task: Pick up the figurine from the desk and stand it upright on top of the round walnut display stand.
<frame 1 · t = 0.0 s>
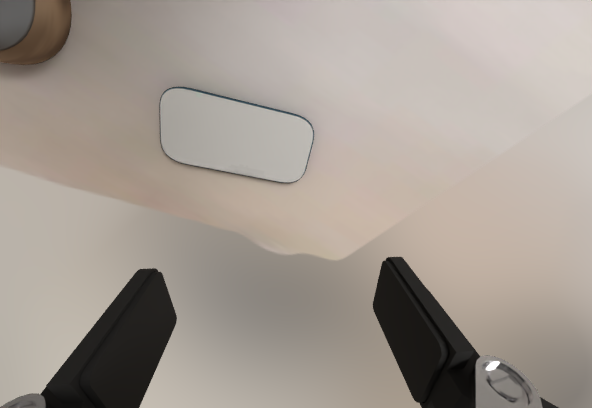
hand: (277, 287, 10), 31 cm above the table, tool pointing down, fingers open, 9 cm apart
external hard drive: (240, 138, 37), on the table
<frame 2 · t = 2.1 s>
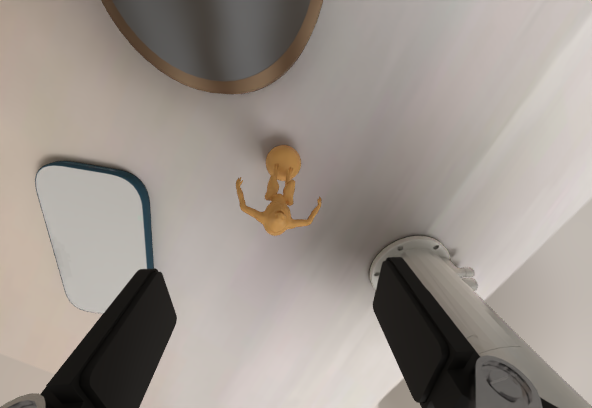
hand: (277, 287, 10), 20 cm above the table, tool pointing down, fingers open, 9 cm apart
figurine: (281, 166, 28), on the table
external hard drive: (112, 243, 31), on the table
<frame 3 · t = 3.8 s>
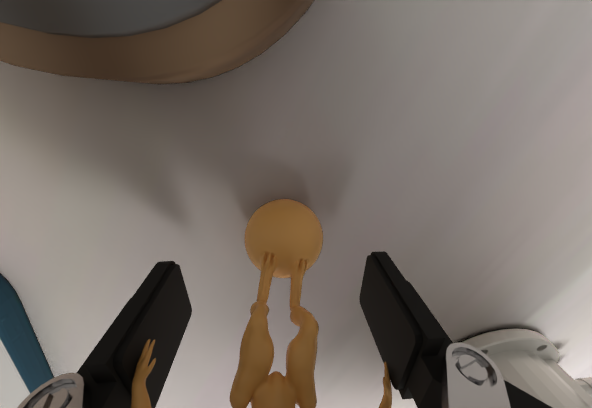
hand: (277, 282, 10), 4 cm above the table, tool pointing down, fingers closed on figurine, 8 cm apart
figurine: (278, 230, 14), on the table, touching gripper
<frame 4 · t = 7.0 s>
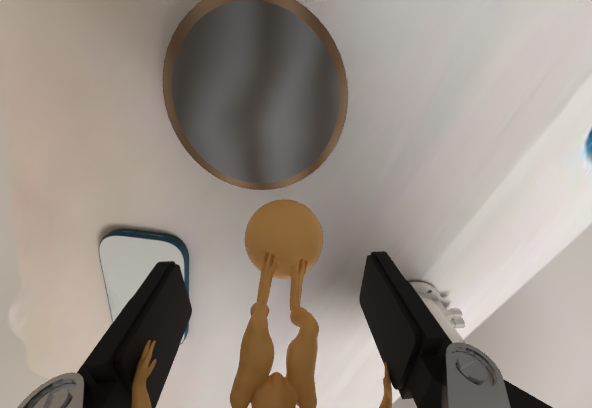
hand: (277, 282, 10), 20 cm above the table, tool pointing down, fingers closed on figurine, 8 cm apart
figurine: (278, 231, 14), point 16 cm above the table, touching gripper
walnut stand: (261, 105, 25), on the table
external hard drive: (154, 288, 37), on the table
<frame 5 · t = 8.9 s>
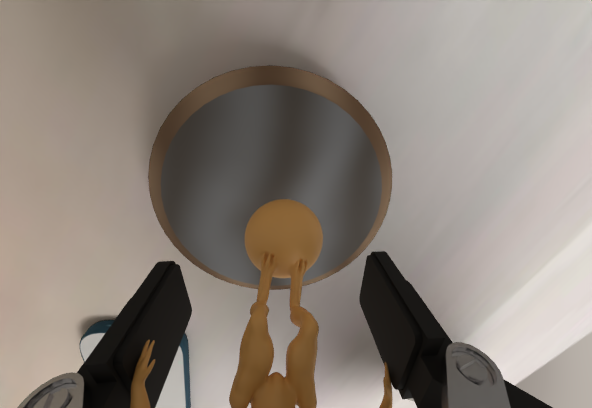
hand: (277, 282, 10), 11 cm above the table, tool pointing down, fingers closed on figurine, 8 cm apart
figurine: (278, 230, 14), point 7 cm above the table, touching gripper
walnut stand: (276, 186, 20), on the table
external hard drive: (149, 371, 32), on the table
when the fingers open (8 cm above the table, at t = 10.4 s): figurine stays where it is, resting on walnut stand.
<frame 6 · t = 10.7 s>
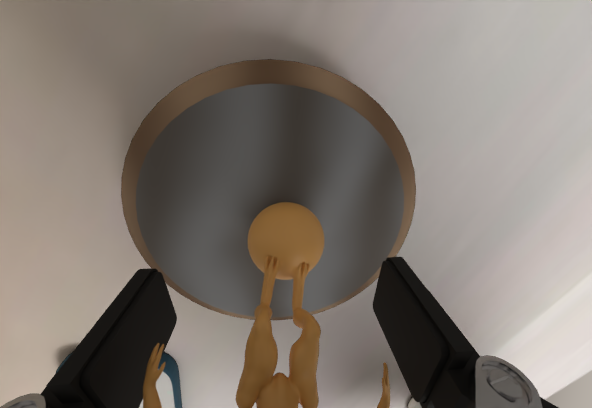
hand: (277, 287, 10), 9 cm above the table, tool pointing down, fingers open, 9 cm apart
figurine: (280, 231, 14), point 4 cm above the table, touching walnut stand
walnut stand: (276, 202, 17), on the table
external hard drive: (137, 398, 29), on the table
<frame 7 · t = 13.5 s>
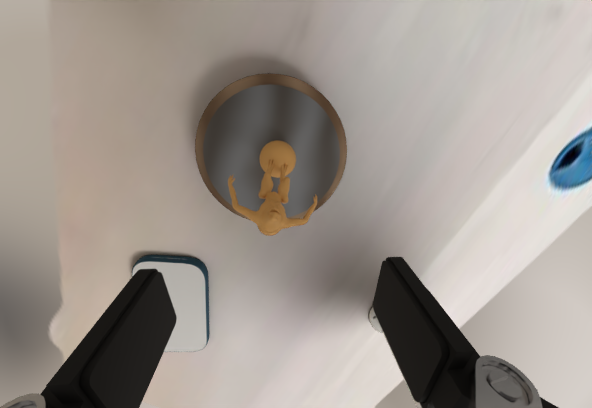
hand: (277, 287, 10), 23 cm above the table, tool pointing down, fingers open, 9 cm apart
figurine: (275, 162, 27), point 4 cm above the table, touching walnut stand
walnut stand: (273, 152, 30), on the table
external hard drive: (178, 302, 42), on the table
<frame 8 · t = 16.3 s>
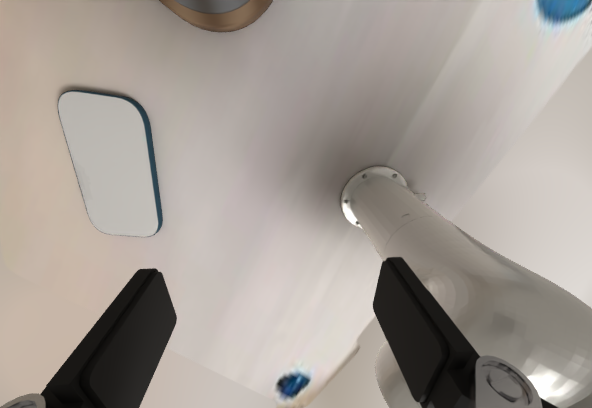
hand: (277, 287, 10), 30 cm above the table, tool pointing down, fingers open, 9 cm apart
external hard drive: (123, 170, 37), on the table
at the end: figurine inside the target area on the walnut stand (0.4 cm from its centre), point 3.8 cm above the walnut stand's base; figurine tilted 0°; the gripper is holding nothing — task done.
